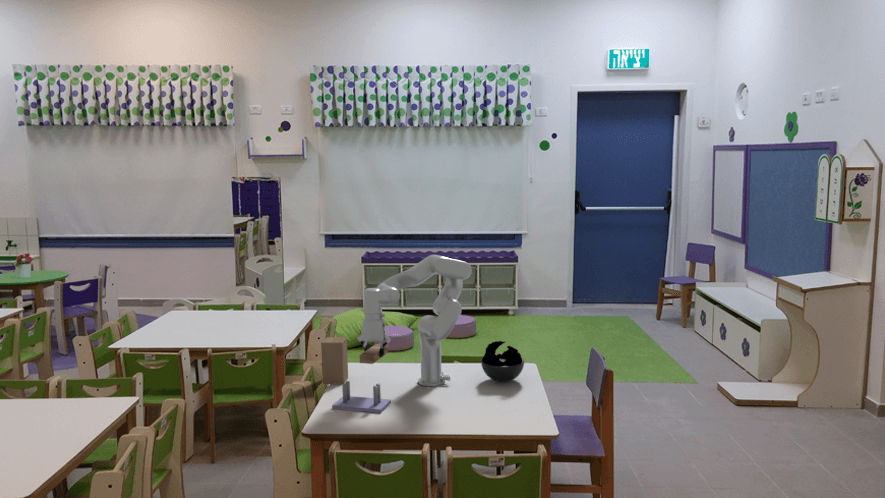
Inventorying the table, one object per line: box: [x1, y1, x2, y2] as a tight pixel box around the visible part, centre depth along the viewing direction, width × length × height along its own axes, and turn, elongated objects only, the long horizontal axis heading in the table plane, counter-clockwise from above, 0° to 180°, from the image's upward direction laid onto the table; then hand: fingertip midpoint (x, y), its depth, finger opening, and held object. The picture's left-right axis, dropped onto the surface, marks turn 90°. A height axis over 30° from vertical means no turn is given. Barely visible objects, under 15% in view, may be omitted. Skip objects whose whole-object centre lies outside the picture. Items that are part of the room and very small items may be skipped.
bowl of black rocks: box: [480, 340, 525, 383], centre depth 322 cm, size 20×20×19 cm
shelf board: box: [359, 343, 389, 365], centre depth 307 cm, size 18×6×4 cm, turn 162°
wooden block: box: [320, 336, 349, 385], centre depth 327 cm, size 10×10×20 cm
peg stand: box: [331, 380, 392, 414], centre depth 294 cm, size 22×12×10 cm, turn 74°
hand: (374, 355), depth 307 cm, fingers closed on shelf board, 6 cm apart
